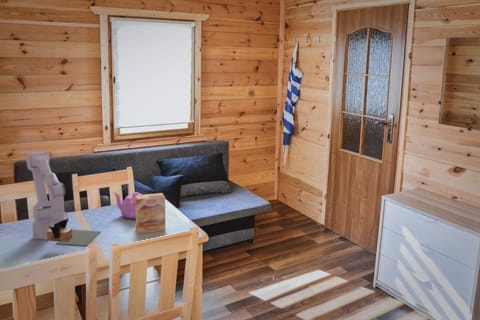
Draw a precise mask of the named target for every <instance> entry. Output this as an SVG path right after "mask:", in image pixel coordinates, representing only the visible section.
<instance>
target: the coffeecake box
mask: <svg viewBox="0 0 480 320" xmlns="http://www.w3.org/2000/svg"><path fill="white" fill-rule="evenodd" d="M135 213H136V219H135V230H136V233H137V235H139V234H148V233H157V232H164V231H166V196H165V195H164V193H163V192H159V193H158V192H157V193H147V194H142V195H135Z"/></svg>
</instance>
